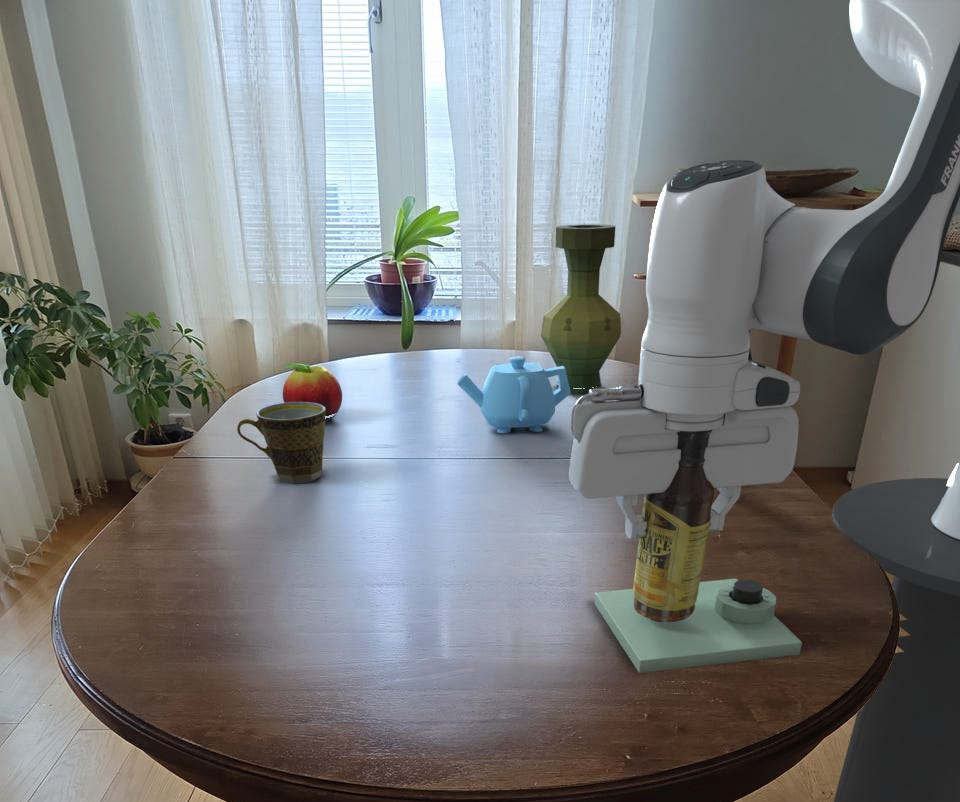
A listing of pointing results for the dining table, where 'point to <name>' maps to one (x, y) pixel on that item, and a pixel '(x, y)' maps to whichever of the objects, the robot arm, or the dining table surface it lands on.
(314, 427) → the ceramic cup
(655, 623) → the green panel with knob
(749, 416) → the robot arm
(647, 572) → the sauce bottle
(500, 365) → the teapot
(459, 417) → the dining table surface
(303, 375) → the fruit
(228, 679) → the dining table surface
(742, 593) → the button
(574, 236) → the vase
